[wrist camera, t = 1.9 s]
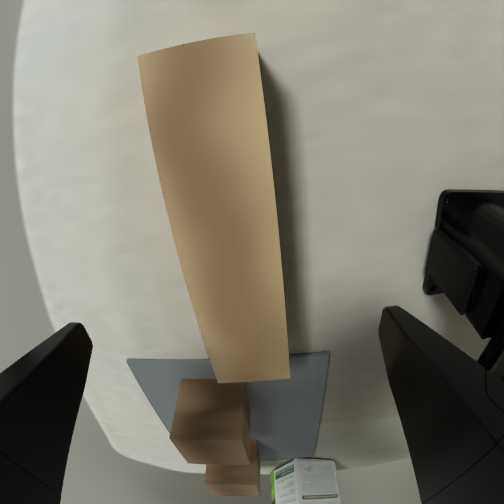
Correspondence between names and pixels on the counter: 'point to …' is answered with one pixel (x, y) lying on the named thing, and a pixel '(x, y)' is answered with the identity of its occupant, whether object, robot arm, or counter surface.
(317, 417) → the mat
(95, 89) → the counter surface
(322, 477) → the syrup box
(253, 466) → the block
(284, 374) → the plank
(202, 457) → the block
